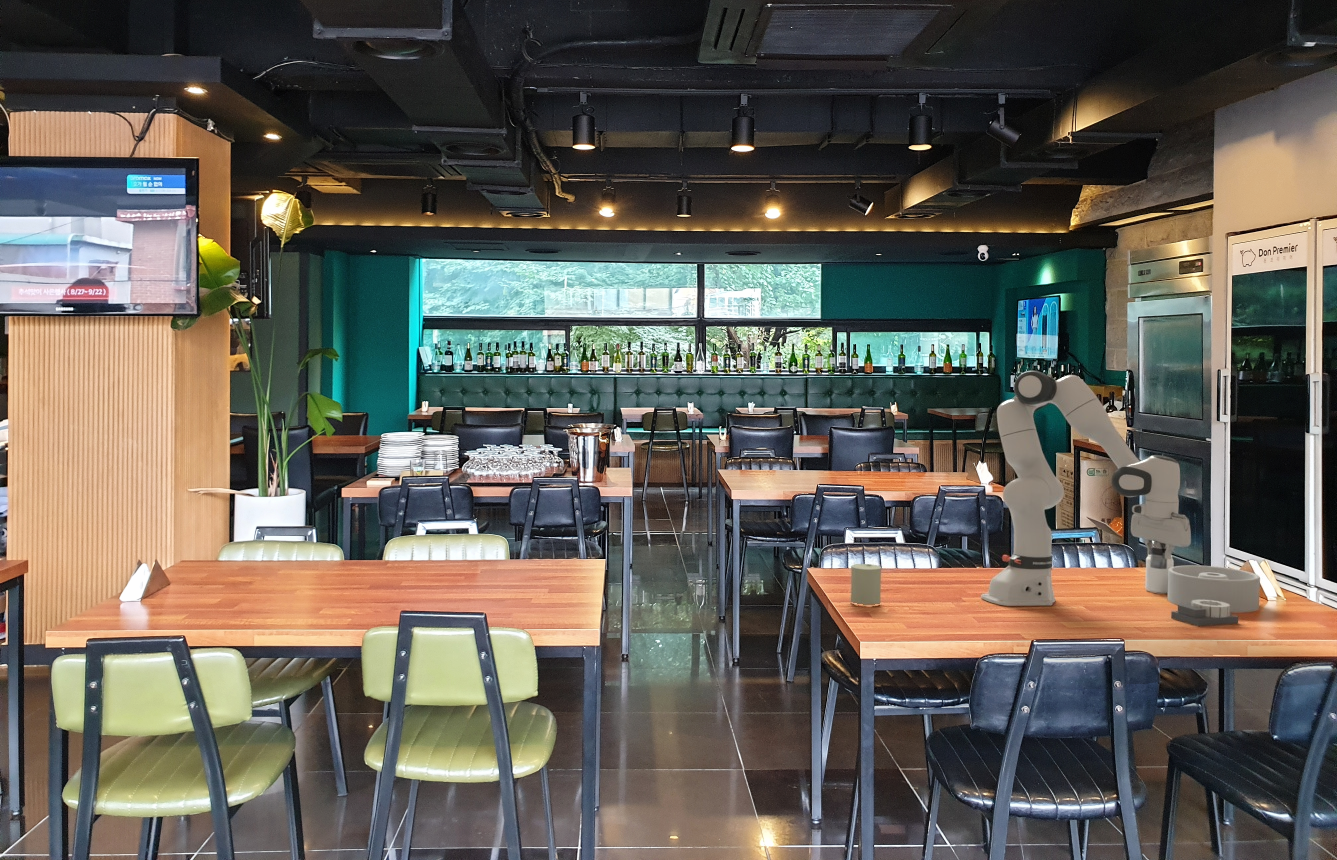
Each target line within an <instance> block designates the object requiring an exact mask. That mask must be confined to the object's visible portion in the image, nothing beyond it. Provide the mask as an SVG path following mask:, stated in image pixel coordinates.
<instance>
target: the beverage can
mask: <svg viewBox="0 0 1337 860" xmlns="http://www.w3.org/2000/svg"><path fill="white" fill-rule="evenodd" d="M1150 561H1151V555H1148V554H1147V557H1146V558H1145V588H1144V589H1145V590H1146V591H1148V592H1149V593H1153V594H1158V595H1159V594H1163V595H1164V594H1165V595H1168V570H1169V568H1171V567H1175V566H1174V562H1175V561H1174V559H1173V555H1171V559H1167V569H1156V568H1152V567H1150Z"/></svg>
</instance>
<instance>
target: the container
mask: <svg viewBox="0 0 1337 860" xmlns="http://www.w3.org/2000/svg"><path fill="white" fill-rule="evenodd" d="M1260 588H1261V578H1260V575H1259V574H1256V573H1254V572H1251V571H1246V570H1242V569H1236V568H1231V567H1221V566H1212V565H1211V566H1210V565H1176V566H1174V567H1171V568H1169V570H1168V594H1167V601H1168V602H1169V603H1171V604H1173V605H1176V606H1178V605H1191V601H1193V600H1210V601H1211V600H1214V601H1219V602H1224V603H1228V604H1229V605H1230V614H1234V613H1235V614H1237V613H1238V614H1240V613H1242V614H1243V613H1244V614H1245V613H1251V612H1256V611H1259V609H1260V591H1261V589H1260Z"/></svg>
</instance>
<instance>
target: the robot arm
mask: <svg viewBox="0 0 1337 860" xmlns="http://www.w3.org/2000/svg"><path fill="white" fill-rule="evenodd" d="M1013 391H1014V394H1015V396H1014V397H1012V398H1011V399H1007V400H1005V401H1002V402H1001V403H1000V404H999V405H998V407H997V409H996V420H997V427H998V433H999V438H1000V441H1001V446H1002V450H1003V452H1004V458H1005V461H1006V462H1007V464H1008V465H1010V467H1012V469H1013V470H1014V473H1015V474H1016V475H1017V478H1015V479H1012V480H1011V481H1010V482H1008V483H1007V484H1006V485H1005V486H1004V489H1003V490H1002V499H1003V501H1004V504H1005V506H1006V507H1007V508H1008V509H1009V510H1008V511H1009V513H1010V516H1011V521H1012V526H1013V552H1012V554H1011V556H1010V555H1007V554H1003V555H1002V558H1001V559H1002V561H1003V562H1006V563H1008V565H1007V566H1006V567H1005V568H1003V570H1001V571H1000V572H999V573H997V574H996V575H995V576H993V577H992V578H991V580H990V583H989V586H988V587H989V588H988V592H986V593H982V594H981V596H980V597H981V599H982V600H984V601H987V602H989V603H992V604H995V605H1001V606H1005V607H1006V606H1007V607H1018V606H1019V607H1023V606H1024V607H1025V606H1026V607H1027V606H1029V607H1030V606H1031V607H1032V606H1053V605H1054V603H1056V598H1055V592H1054V589H1053V580H1052V579H1053V578H1052V570H1053V556H1052V529H1051V528H1050V526H1049V525H1048V522H1047V518H1046V513H1045V510H1049V509H1052V508H1053V507H1055V506H1056V505H1058V504H1059V503H1061V501H1062V500H1063V498H1064V495H1065V489H1064V486H1063V483H1062V482H1061V481H1060V480H1059V479H1058V478H1057V477H1056V476H1055V474H1054V472H1053V470H1052V469H1051V466H1050V465H1049V463H1048V461H1047V459H1046V457H1045V454H1044V453H1043V450H1042V445H1041V442H1040V438H1039V435H1038V432H1037V427H1036V424H1035V420H1034V419H1035V418H1034V413H1036V412H1038V411H1039V410H1042V409H1043V408H1046V407H1047V406H1048V405H1049V404H1053V405H1055V406H1056V407H1057V408H1058V409H1059V411H1060V412H1061V414H1062V415H1063V417H1064V418H1065V420H1066V421H1067V423H1068V424H1069V425H1070V427H1072V429H1073V430H1074V431H1076V433H1077V434H1079V435H1080V436H1082V437H1085V438H1087V439H1089V440H1091V441H1093V442H1095V443H1097V444H1098V445H1099V446H1101V448H1102V449H1103V450H1104V451H1105V452H1106V454H1107V455H1108V457H1109V458H1110V459H1111V460H1112V462H1113V464H1114V465H1115V466H1116V468H1117V469H1116V470H1115V471H1114V472H1113V474H1112V477H1111V485H1112V488H1113V490H1114V491H1115V492H1116V493H1118V494H1119V495H1120V496H1124V497H1126V498H1133V497H1138V496H1139V497H1141V496H1143V497H1145V502H1143V503H1140V504H1135V505H1133V506H1132V507H1131V511H1132V513H1133V514H1132V515H1131V520H1130V521H1131V522H1130V533H1131V535H1132V536H1133V537H1135V538H1139V539H1144V545H1145V547H1146V550H1147V556H1148V555H1151V544H1152V540H1154V541H1158V542H1160V543H1165V544H1166V548H1167V549H1166V551H1165V552H1164V553H1163V556H1162V557H1163V558H1164V559H1171V556H1172V553H1173V552H1174V550H1175V549H1176V547H1178V548H1188V547H1189V546H1190V545H1191V543H1192V537H1191V531H1192V530H1191V525H1190V519H1189V518H1188V517H1187V516H1186V515H1185V514H1180V513H1179V508H1180V507H1179V505H1180V504H1179V503H1180V499H1179V490H1180V487H1181V471H1180V469H1181V468H1180V464H1179V462H1178V461H1177V460H1176V459H1174V458H1172V457H1169V456H1166V455H1159V454H1154V455H1153V454H1152V455H1150V456H1149V457H1147V458H1145V459H1143V460H1141V459H1140V458H1139V457H1138V456H1137V455H1136V454H1135V453H1134V451H1133V450H1132V449H1131V448H1130V446H1129V445H1128V444H1127V442H1126V441H1125V440H1124V438H1123V437H1122V435H1120V432H1119V431H1118V430H1117V429H1116V427H1115V425H1114V423H1113V422H1112V420H1111V418H1110V416H1109V415H1108V413H1107V410H1106V409H1105V407H1104V405H1103V403H1102V402H1101V401H1100V400H1099V398H1098V396H1097V395H1096V394H1095V393H1094V391H1093V390H1092V389H1091V388H1090V386H1088V384H1087V383H1086V382H1085V381H1084V379H1083V380H1082V378H1080V377H1079V376H1078V375H1075V374H1068V375H1066V376H1065V375H1064V376H1063V377H1061V378H1058V379H1057V380H1056V379H1055V378H1054V377H1051V376H1049V375H1047V374H1046V373H1044V372H1041V371H1038V370H1028V371H1024V372H1022V373H1020V374H1019V375H1018V376H1017V378H1016V379H1015V382H1014V384H1013Z"/></svg>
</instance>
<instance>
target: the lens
mask: <svg viewBox="0 0 1337 860" xmlns="http://www.w3.org/2000/svg"><path fill="white" fill-rule="evenodd" d="M1166 549H1167V548H1166V544H1165V543H1160V542H1158V541H1154V540H1152V544H1151V561H1150V567H1152V568H1156V569H1167V559H1164V558H1163V557H1162V556H1163V553H1164V552H1165V551H1166Z"/></svg>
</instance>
